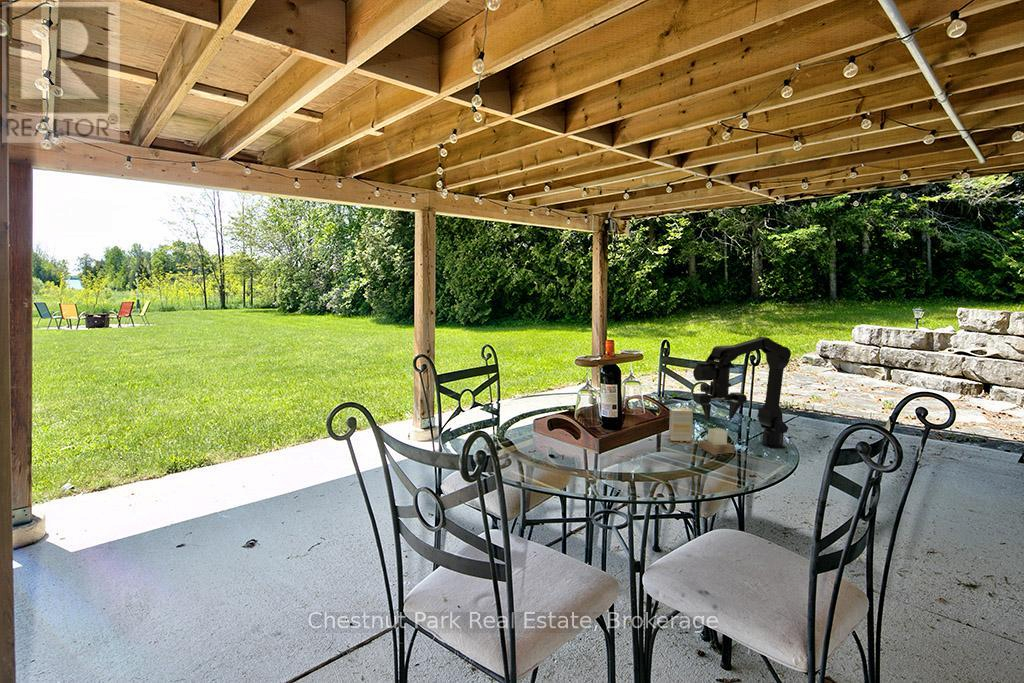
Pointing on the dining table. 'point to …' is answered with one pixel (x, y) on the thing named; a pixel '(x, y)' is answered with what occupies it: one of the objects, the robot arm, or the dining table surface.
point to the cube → (717, 436)
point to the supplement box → (680, 424)
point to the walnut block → (716, 447)
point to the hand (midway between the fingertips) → (719, 420)
